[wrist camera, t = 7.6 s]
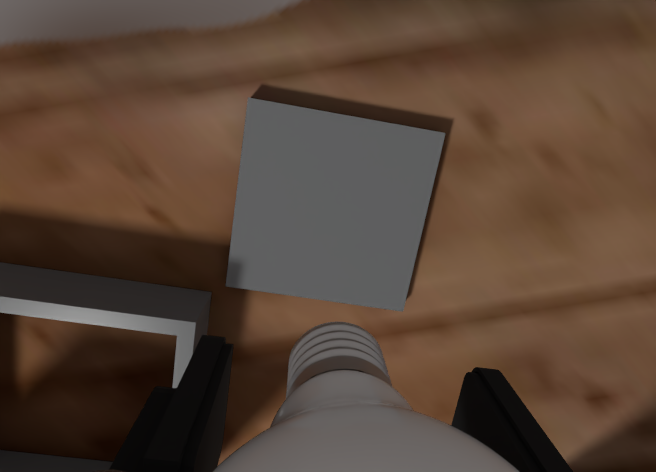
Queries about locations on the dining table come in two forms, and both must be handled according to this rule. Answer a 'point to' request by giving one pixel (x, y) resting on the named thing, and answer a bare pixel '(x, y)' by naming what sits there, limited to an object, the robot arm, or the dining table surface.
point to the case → (105, 310)
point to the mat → (330, 205)
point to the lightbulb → (354, 418)
